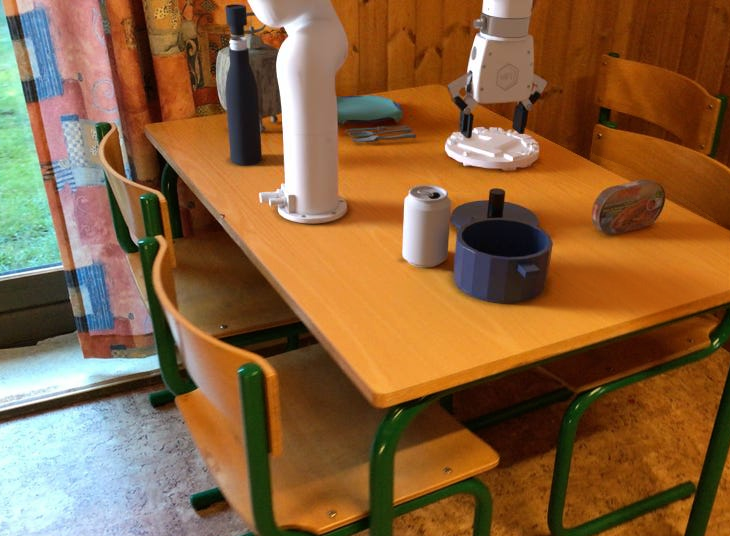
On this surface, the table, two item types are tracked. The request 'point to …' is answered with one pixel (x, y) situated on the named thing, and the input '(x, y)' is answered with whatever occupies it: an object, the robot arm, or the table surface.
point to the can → (426, 226)
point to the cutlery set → (370, 116)
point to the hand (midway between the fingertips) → (492, 133)
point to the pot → (502, 259)
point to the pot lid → (492, 210)
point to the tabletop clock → (255, 74)
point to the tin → (628, 206)
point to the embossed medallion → (493, 149)
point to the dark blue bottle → (241, 94)
